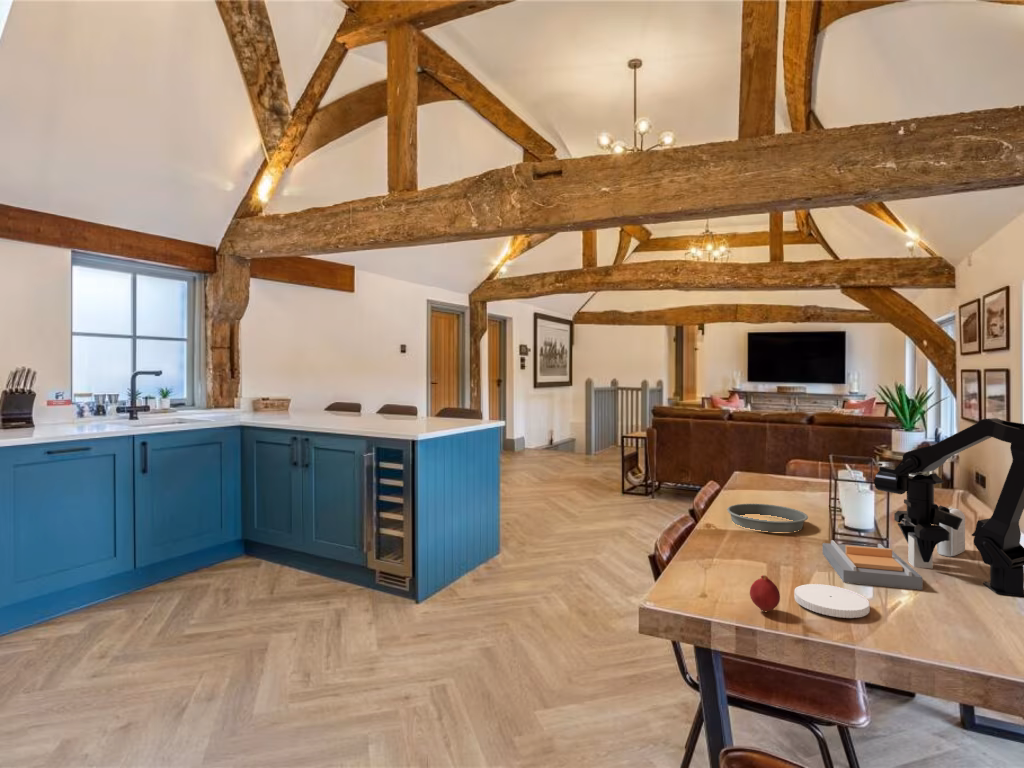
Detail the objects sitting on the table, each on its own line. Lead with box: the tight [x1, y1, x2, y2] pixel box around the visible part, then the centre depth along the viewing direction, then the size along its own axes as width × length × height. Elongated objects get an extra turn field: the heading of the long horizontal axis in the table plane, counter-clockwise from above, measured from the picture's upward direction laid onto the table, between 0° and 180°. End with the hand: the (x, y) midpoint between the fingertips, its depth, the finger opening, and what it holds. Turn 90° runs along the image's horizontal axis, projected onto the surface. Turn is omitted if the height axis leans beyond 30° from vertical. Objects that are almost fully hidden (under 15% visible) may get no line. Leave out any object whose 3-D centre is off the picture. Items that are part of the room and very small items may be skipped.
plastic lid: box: [794, 583, 871, 619], centre depth 116 cm, size 14×14×2 cm
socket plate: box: [822, 539, 923, 591], centre depth 137 cm, size 22×16×4 cm
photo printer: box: [936, 507, 966, 558], centre depth 150 cm, size 10×4×12 cm, turn 123°
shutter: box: [845, 544, 903, 571], centre depth 133 cm, size 8×10×3 cm
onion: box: [749, 574, 781, 612], centre depth 114 cm, size 6×6×8 cm
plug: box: [907, 532, 934, 570], centre depth 140 cm, size 4×4×8 cm
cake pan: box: [726, 503, 809, 533], centre depth 180 cm, size 25×25×4 cm
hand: (920, 557), depth 140 cm, fingers open, 7 cm apart
